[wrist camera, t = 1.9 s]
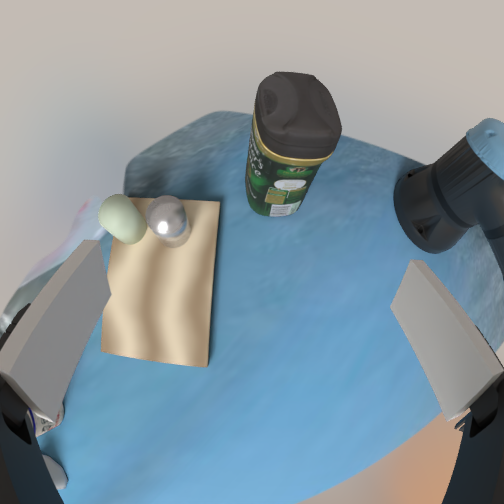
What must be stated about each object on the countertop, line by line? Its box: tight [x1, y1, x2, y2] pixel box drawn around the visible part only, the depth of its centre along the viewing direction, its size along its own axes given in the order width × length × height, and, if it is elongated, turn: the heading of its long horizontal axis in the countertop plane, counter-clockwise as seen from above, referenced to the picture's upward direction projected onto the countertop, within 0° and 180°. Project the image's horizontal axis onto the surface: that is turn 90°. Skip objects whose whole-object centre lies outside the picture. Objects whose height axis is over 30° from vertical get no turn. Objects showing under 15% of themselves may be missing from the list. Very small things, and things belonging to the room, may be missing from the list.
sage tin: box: [98, 194, 147, 245], centre depth 31 cm, size 4×4×6 cm
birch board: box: [101, 198, 220, 367], centre depth 33 cm, size 14×21×2 cm, turn 176°
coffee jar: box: [245, 72, 342, 217], centre depth 30 cm, size 10×8×19 cm
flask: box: [42, 454, 68, 489], centre depth 18 cm, size 7×7×10 cm
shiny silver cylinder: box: [145, 195, 191, 248], centre depth 31 cm, size 4×4×6 cm
